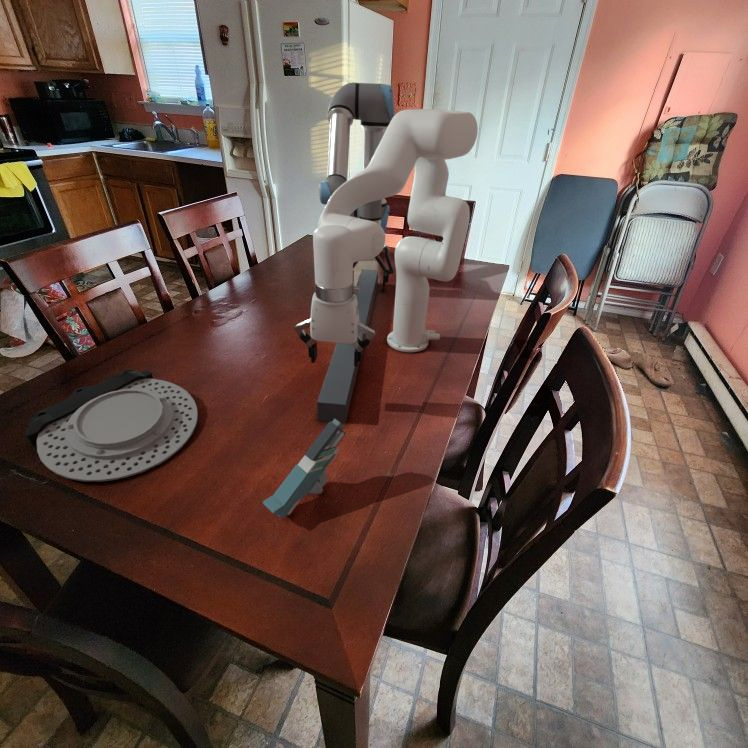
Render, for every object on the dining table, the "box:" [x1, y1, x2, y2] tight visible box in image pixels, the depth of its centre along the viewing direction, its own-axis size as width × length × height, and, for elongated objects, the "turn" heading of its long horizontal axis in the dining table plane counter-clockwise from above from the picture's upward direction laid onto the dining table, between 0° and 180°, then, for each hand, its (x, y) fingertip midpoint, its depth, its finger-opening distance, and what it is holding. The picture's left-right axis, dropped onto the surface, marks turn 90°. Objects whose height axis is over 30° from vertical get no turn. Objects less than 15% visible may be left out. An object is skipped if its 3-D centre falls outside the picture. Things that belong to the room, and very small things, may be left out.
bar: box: [316, 269, 379, 424], centre depth 127 cm, size 83×6×6 cm, turn 175°
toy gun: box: [262, 419, 346, 520], centre depth 76 cm, size 4×19×10 cm
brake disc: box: [23, 369, 199, 483], centre depth 89 cm, size 32×30×5 cm
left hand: (367, 289), depth 157 cm, fingers open, 11 cm apart
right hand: (335, 361), depth 93 cm, fingers open, 9 cm apart
